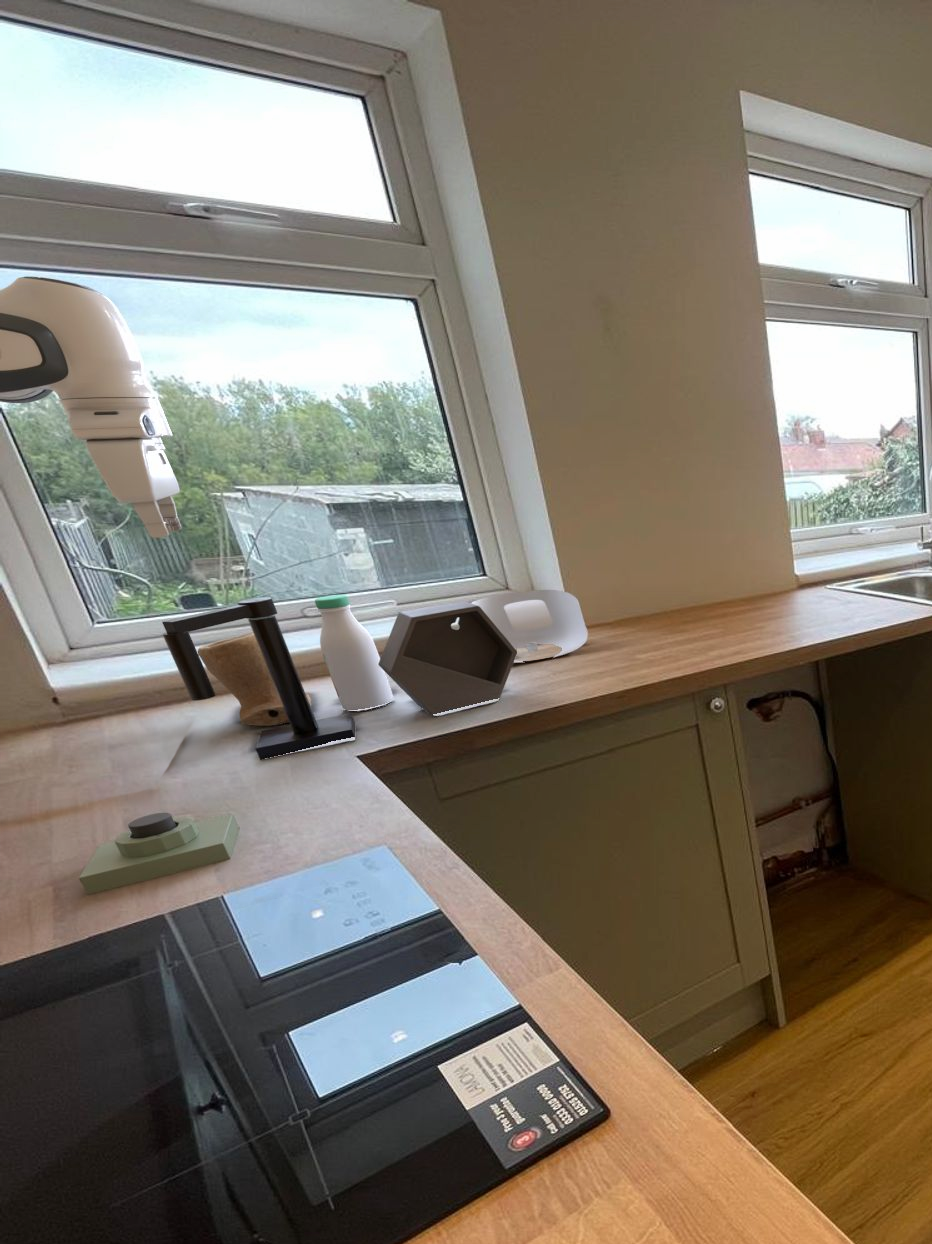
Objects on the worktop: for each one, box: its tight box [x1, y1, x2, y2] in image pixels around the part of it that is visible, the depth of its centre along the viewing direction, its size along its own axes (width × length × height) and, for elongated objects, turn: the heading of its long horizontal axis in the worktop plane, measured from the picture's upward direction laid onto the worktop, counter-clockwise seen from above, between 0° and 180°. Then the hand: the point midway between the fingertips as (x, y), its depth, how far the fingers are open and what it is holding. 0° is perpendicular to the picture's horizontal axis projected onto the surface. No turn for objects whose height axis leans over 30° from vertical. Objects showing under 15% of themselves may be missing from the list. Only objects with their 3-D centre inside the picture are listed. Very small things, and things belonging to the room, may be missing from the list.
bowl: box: [471, 589, 589, 664], centre depth 177 cm, size 20×19×12 cm
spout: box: [161, 596, 278, 701], centre depth 120 cm, size 15×4×12 cm, turn 172°
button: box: [127, 812, 177, 839], centre depth 94 cm, size 4×4×2 cm
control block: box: [78, 813, 240, 895], centre depth 95 cm, size 12×10×4 cm
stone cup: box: [197, 632, 312, 727], centre depth 141 cm, size 15×12×15 cm
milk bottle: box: [314, 594, 394, 711], centre depth 144 cm, size 8×8×20 cm
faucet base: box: [247, 614, 356, 761], centre depth 128 cm, size 12×10×20 cm
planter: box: [378, 600, 517, 716], centre depth 143 cm, size 17×8×21 cm
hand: (167, 533), depth 109 cm, fingers open, 8 cm apart
